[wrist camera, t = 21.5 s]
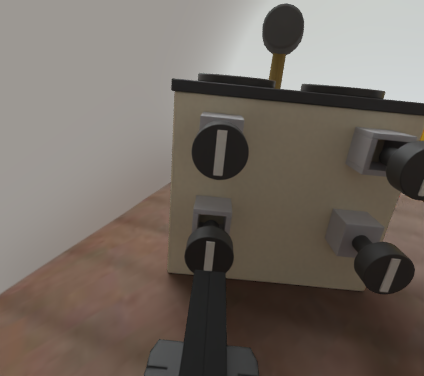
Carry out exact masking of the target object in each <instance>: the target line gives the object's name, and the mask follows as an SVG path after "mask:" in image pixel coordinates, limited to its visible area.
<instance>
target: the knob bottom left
mask: <svg viewBox="0 0 424 376" xmlns="http://www.w3.org/2000/svg"><path fill="white" fill-rule="evenodd" d="M184 259H185V263H186V265H187V267H188V268H189V270H190V271H191V272H193V273H194V271H195V270H204V271H214V272H224V273H226V272H228V271H229V269H230V268H231V266H232V264H233V261H234V253H233V242H232V239H231V237H230V236H229V234H228V233H227V232H226V231H224V230H223V229H221V228H219V224H218V223H217V222H216V221H214V220H208V221H206V222H205V223H204V225H203V227H200V228H198V229H196V230H195V231H193V232H192V233H191V235H190V236H189V238H188V240H187V245H186V249H185V255H184Z"/></svg>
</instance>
